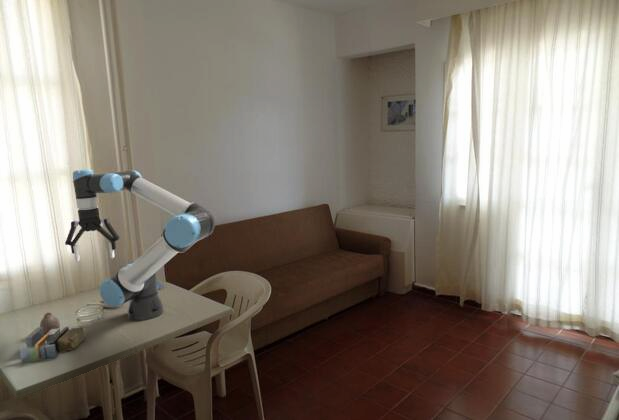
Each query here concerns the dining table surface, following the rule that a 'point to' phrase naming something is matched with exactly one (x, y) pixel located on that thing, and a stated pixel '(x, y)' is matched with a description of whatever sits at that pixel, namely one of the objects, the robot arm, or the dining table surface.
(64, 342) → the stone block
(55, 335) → the plunger
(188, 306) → the dining table surface
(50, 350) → the gauge housing
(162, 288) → the woven mat
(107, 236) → the robot arm
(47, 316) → the vase
